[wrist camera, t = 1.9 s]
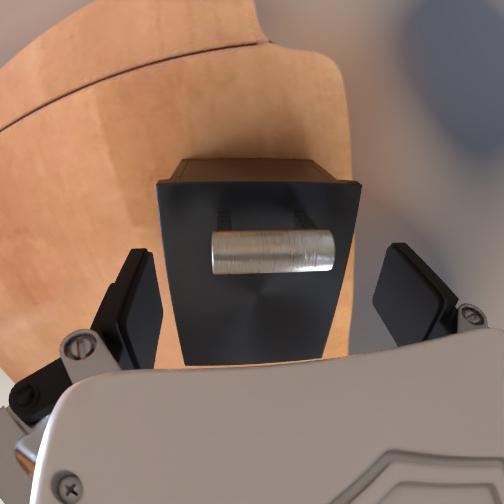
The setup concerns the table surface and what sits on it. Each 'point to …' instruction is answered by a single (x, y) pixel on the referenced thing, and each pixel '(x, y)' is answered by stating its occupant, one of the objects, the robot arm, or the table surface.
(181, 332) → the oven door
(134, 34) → the table surface
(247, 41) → the table surface
